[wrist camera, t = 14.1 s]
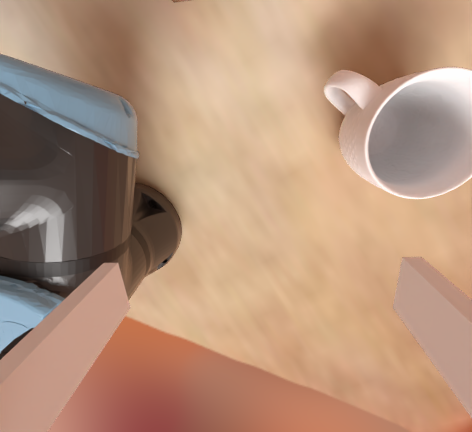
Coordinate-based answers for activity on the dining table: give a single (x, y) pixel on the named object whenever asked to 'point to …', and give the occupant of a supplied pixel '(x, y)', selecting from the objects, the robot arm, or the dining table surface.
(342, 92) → the mug
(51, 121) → the robot arm
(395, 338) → the dining table surface
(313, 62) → the dining table surface
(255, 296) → the dining table surface
